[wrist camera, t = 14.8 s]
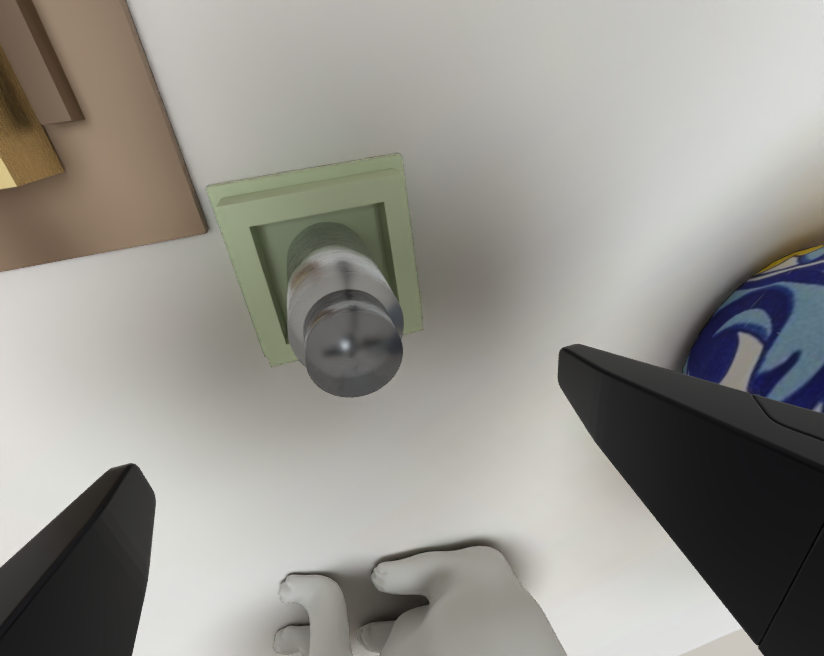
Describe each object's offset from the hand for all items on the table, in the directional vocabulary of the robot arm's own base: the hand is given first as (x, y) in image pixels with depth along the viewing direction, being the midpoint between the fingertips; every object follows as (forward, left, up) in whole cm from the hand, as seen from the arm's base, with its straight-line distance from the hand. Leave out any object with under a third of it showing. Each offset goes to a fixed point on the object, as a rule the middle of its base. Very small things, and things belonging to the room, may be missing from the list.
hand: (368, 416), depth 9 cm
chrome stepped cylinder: (0, 0, -9) cm, 9 cm away
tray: (0, 0, -10) cm, 10 cm away
